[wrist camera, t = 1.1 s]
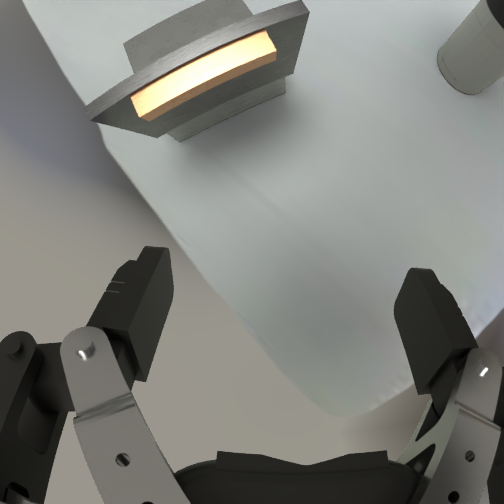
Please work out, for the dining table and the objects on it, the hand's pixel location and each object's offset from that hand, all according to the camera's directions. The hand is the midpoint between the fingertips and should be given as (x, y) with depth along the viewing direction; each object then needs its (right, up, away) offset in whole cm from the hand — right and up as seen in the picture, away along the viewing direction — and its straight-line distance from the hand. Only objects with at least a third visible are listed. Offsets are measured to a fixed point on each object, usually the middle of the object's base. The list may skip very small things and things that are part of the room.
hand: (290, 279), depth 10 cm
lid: (-5, +16, +14) cm, 22 cm away
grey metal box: (-7, +26, +30) cm, 40 cm away
